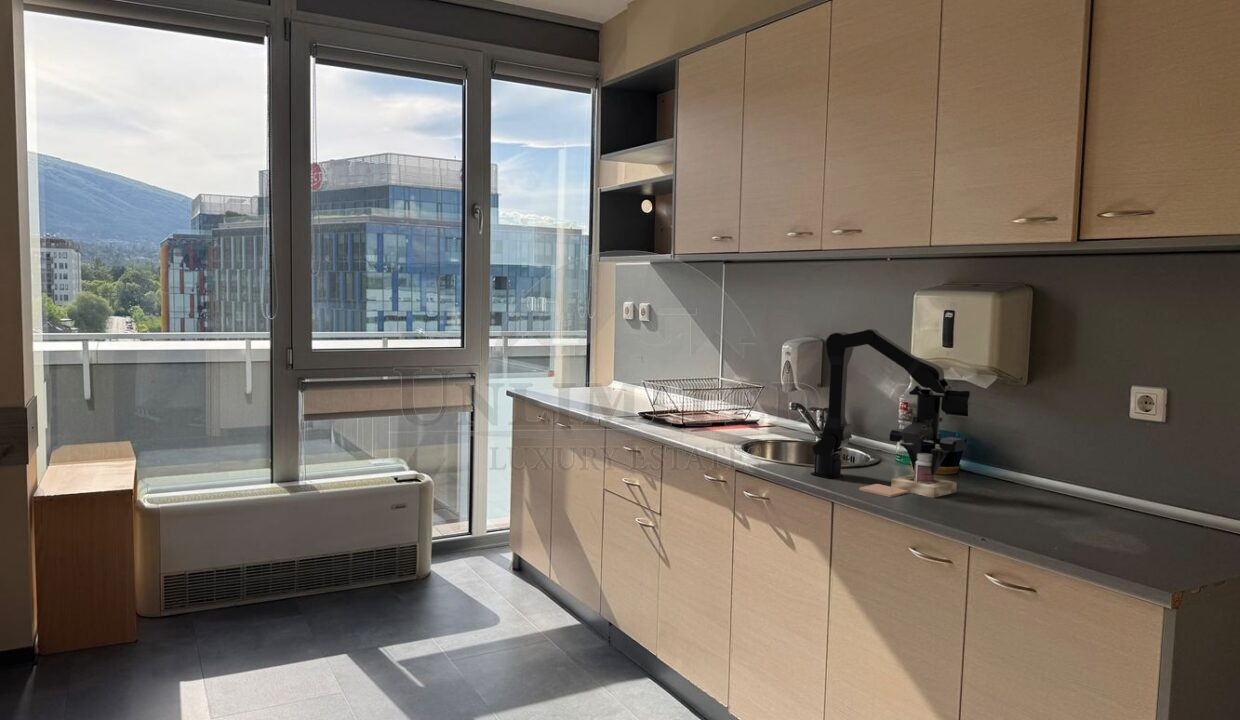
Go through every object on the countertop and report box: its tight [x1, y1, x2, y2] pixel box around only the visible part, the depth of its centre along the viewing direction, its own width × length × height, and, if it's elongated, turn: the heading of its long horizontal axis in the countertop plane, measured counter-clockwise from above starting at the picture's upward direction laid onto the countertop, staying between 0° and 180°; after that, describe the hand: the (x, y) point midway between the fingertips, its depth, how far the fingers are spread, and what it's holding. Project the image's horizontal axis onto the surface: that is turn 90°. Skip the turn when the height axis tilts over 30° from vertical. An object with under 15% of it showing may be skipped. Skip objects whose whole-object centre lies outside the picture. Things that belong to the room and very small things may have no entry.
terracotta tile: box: [859, 483, 909, 498], centre depth 216 cm, size 9×8×1 cm
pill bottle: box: [913, 452, 935, 484], centre depth 219 cm, size 5×5×8 cm
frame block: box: [890, 473, 957, 498], centre depth 219 cm, size 12×11×2 cm
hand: (924, 472), depth 219 cm, fingers closed on pill bottle, 5 cm apart
